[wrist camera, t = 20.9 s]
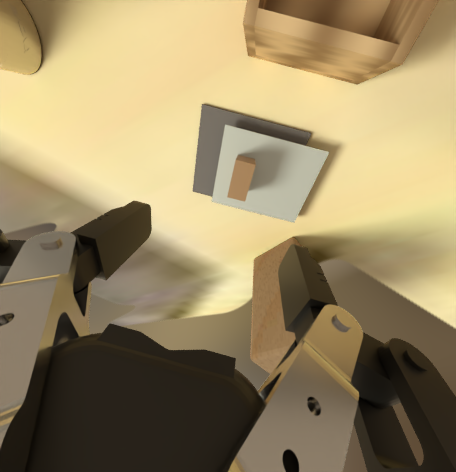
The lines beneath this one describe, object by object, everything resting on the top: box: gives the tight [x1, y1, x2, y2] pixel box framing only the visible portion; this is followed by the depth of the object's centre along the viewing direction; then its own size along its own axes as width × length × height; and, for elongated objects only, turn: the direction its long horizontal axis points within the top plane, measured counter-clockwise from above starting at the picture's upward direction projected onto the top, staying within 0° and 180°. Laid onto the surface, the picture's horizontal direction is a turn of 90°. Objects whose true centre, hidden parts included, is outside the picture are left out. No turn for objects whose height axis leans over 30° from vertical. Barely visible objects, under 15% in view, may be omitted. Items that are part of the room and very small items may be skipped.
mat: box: [193, 104, 311, 196], centre depth 28 cm, size 16×13×1 cm
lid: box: [212, 125, 329, 222], centre depth 26 cm, size 15×11×7 cm
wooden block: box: [250, 237, 301, 374], centre depth 29 cm, size 10×10×20 cm
